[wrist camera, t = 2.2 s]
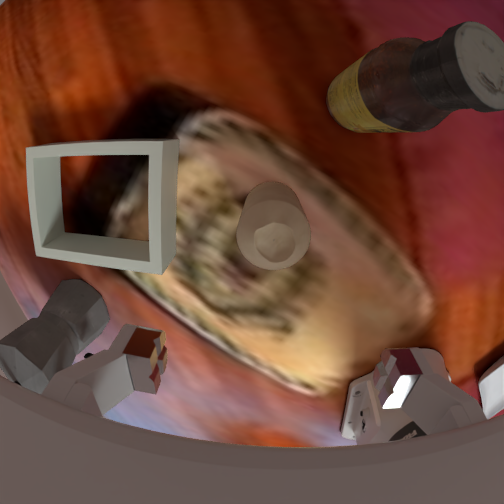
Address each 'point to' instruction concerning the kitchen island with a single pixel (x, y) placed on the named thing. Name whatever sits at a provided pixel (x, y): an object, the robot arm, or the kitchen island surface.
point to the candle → (273, 227)
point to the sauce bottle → (420, 81)
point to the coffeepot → (54, 335)
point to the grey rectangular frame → (99, 247)
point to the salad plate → (492, 389)
